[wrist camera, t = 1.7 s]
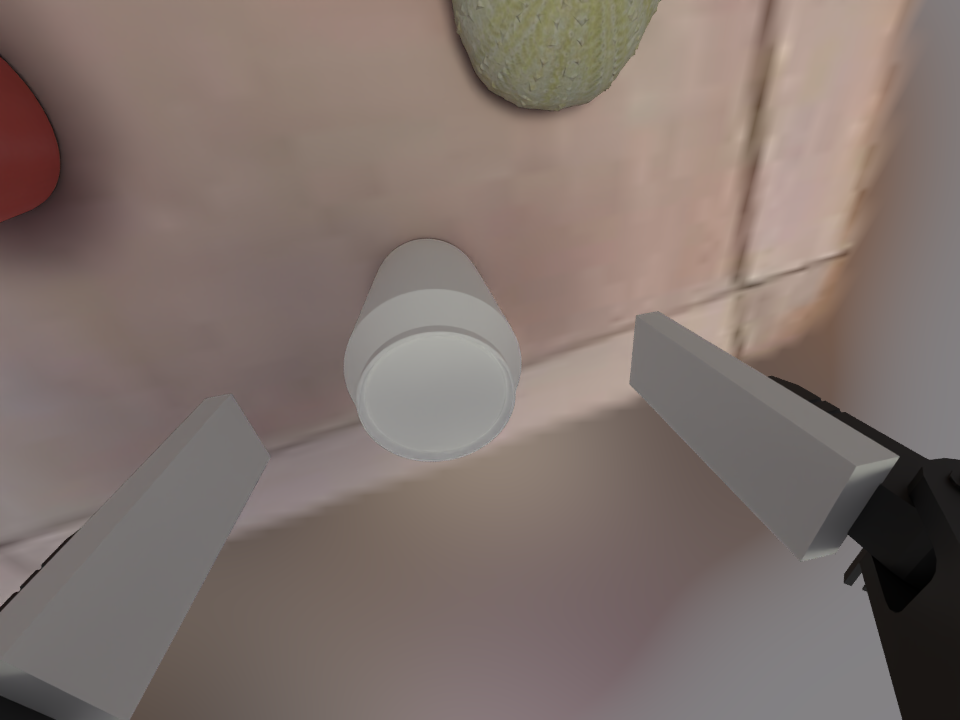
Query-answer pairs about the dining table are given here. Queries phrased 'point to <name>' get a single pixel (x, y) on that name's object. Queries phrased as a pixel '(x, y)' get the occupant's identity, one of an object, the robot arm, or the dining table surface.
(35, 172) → the flower pot
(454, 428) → the beverage can
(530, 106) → the sea urchin shell
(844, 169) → the dining table surface
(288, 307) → the dining table surface
